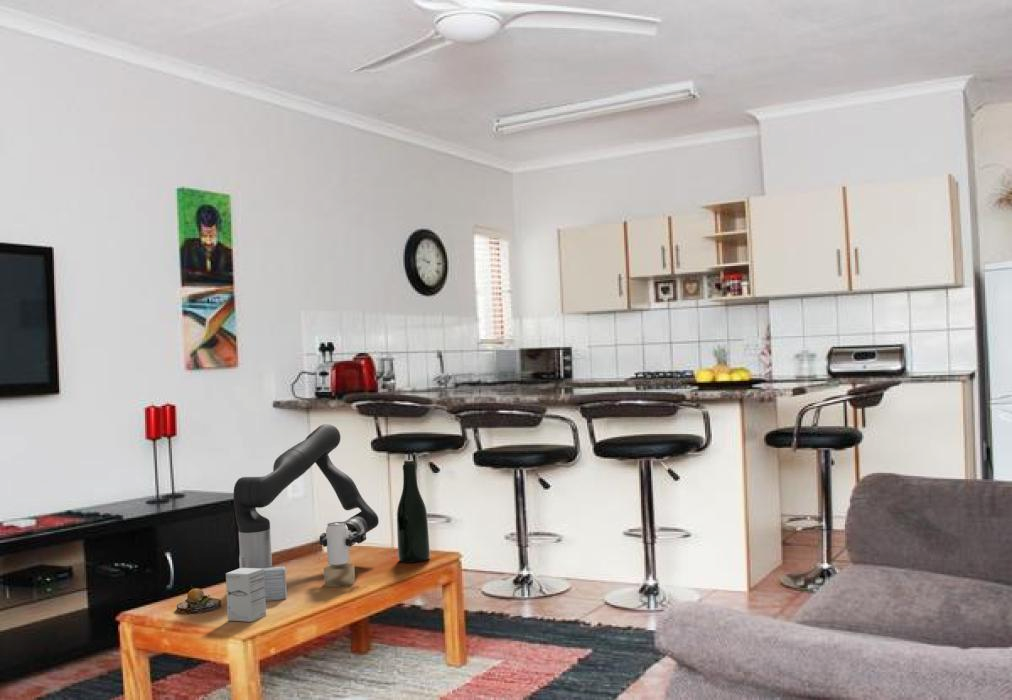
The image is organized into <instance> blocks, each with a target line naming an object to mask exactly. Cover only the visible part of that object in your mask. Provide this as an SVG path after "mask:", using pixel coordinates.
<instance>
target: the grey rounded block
mask: <svg viewBox="0 0 1012 700" xmlns="http://www.w3.org/2000/svg"><path fill="white" fill-rule="evenodd" d="M355 576H356V574H355V565H354V564H350V563H347V564H344V565H336V566H334V565H328V566H325V567H324V568H323V578H324V586H325V587H326V586H327V587H326V588H344V587H349V586H352V585H354V584H355V583H356V579H355V578H356V577H355Z"/></svg>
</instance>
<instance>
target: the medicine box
mask: <svg viewBox="0 0 1012 700" xmlns="http://www.w3.org/2000/svg"><path fill="white" fill-rule="evenodd" d="M261 569H264V577H265V601H266V602H269V601H278V600H279V601H280V600H282V601H283V600H287V596H288V594H287V593H288V592H287V591H288V590H287V576H286V575H287V573H286V566H274V567H273V566H272V567H271V568H261Z"/></svg>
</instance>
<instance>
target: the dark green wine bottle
mask: <svg viewBox="0 0 1012 700" xmlns="http://www.w3.org/2000/svg"><path fill="white" fill-rule="evenodd" d="M402 471H403V472H402V475H403V476H402V477H403V479H402V480H403V482H402V483H403V485H402V492H401V495H400V498H399V502H398V505H397V510H396V530H397V531H396V534H397V535H396V536H397V537H396V538H397V539H396V540H397V556H398V558H397V559H398V560H399V561H400V562H403V563H420V562H425V561H427V560H429V559H430V558H431V549H430V535H429V524H428V523H429V522H428V521H429V520H428V514H427V513H428V512H427V507H426V504H425V502H424V499H423V497H422V495H421V492H420V489H419V486H418V481H417V480H418V478H417V466H416V463H415V460H413V459H407V460H404V461H403V464H402Z"/></svg>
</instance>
